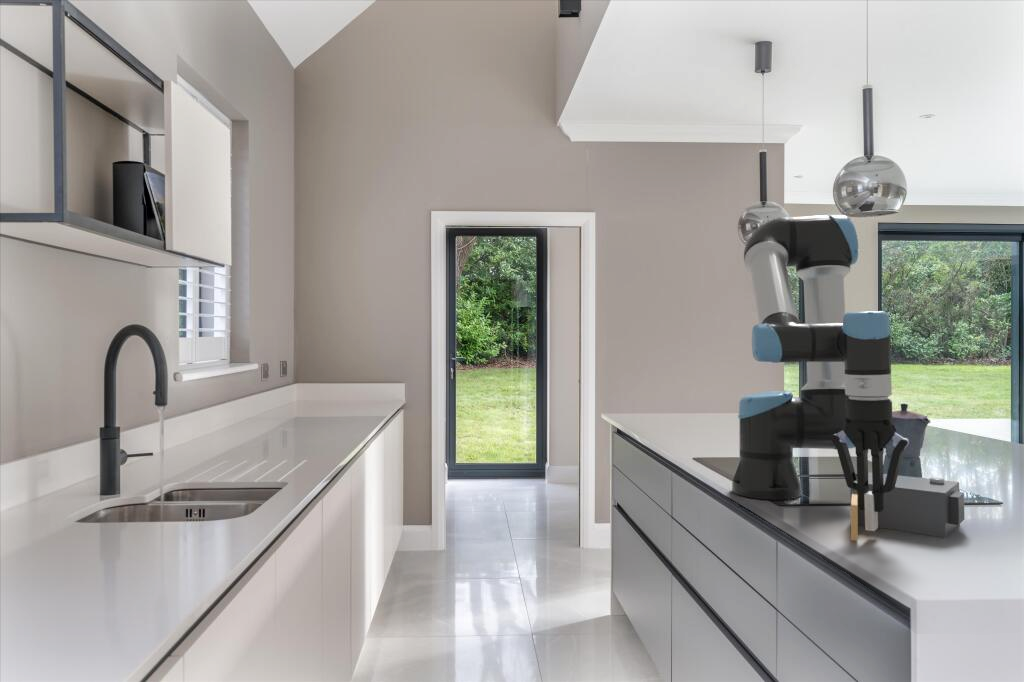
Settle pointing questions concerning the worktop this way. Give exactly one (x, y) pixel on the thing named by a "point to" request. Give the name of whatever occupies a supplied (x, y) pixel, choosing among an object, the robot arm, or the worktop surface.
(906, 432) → the moka pot
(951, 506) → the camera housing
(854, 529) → the side door
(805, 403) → the robot arm
